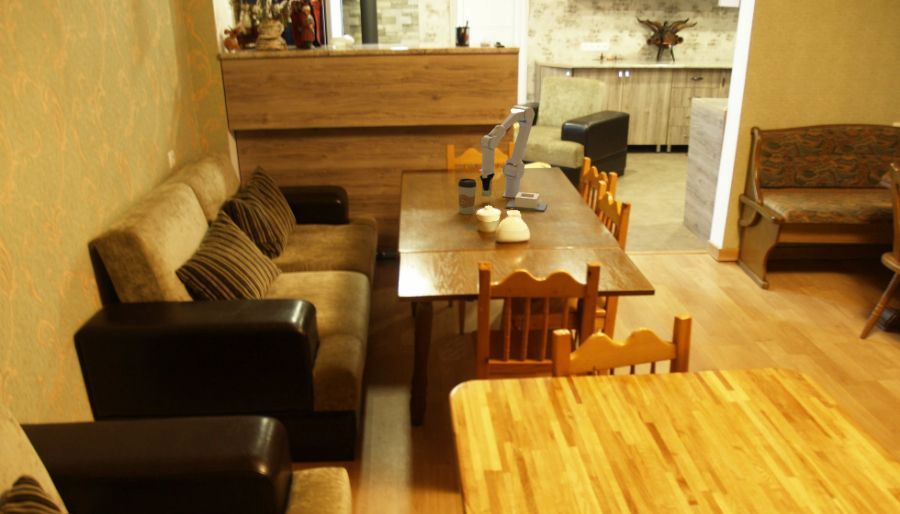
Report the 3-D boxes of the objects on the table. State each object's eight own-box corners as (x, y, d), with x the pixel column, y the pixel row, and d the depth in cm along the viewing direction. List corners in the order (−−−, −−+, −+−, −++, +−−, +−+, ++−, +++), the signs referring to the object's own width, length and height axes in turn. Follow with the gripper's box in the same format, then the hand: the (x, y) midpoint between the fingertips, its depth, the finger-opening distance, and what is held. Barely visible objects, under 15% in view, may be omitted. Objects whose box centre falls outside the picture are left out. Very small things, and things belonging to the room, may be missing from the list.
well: (510, 201, 334) (510, 190, 332) (547, 205, 330) (548, 194, 328) (505, 208, 323) (506, 196, 321) (544, 212, 319) (544, 200, 317)
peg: (483, 193, 334) (483, 177, 331) (491, 194, 333) (492, 178, 330) (481, 196, 330) (482, 179, 328) (489, 196, 330) (490, 180, 327)
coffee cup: (453, 213, 313) (454, 181, 308) (462, 208, 320) (463, 177, 315) (470, 216, 310) (471, 183, 304) (478, 211, 317) (479, 179, 311)
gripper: (482, 157, 333) (481, 184, 338) (476, 164, 320) (475, 192, 325) (497, 158, 332) (495, 186, 337) (491, 165, 319) (490, 193, 323)
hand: (486, 189), depth 331 cm, fingers closed on peg, 4 cm apart
